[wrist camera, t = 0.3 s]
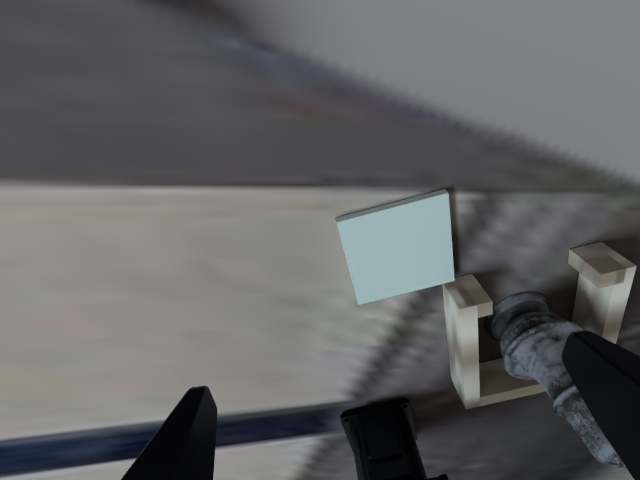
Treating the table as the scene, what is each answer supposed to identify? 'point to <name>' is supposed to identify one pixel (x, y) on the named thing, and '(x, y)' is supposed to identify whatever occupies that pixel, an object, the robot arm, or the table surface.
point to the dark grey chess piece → (545, 362)
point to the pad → (399, 246)
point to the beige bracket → (473, 302)
